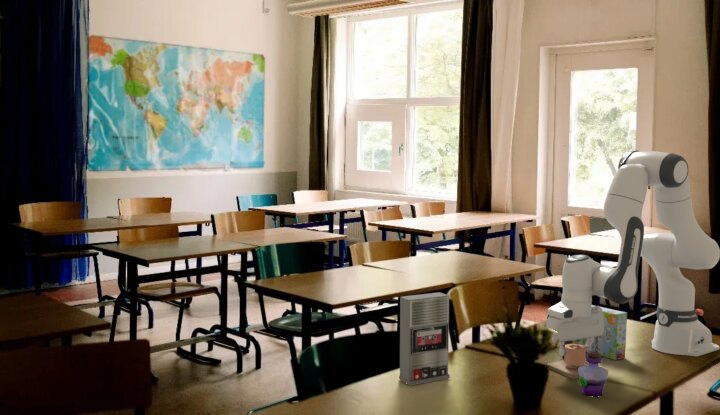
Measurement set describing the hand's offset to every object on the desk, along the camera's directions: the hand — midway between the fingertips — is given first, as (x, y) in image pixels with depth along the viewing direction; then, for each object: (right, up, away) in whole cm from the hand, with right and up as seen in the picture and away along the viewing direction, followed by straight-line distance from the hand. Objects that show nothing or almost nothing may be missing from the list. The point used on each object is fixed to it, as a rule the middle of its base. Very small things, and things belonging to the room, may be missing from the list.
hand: (574, 353), depth 233 cm
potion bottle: (-1, -8, -21) cm, 22 cm away
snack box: (+12, -4, +21) cm, 25 cm away
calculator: (+2, -4, +17) cm, 18 cm away
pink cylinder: (0, -3, 0) cm, 3 cm away
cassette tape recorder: (-47, -7, -9) cm, 48 cm away
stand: (0, -5, +1) cm, 5 cm away
